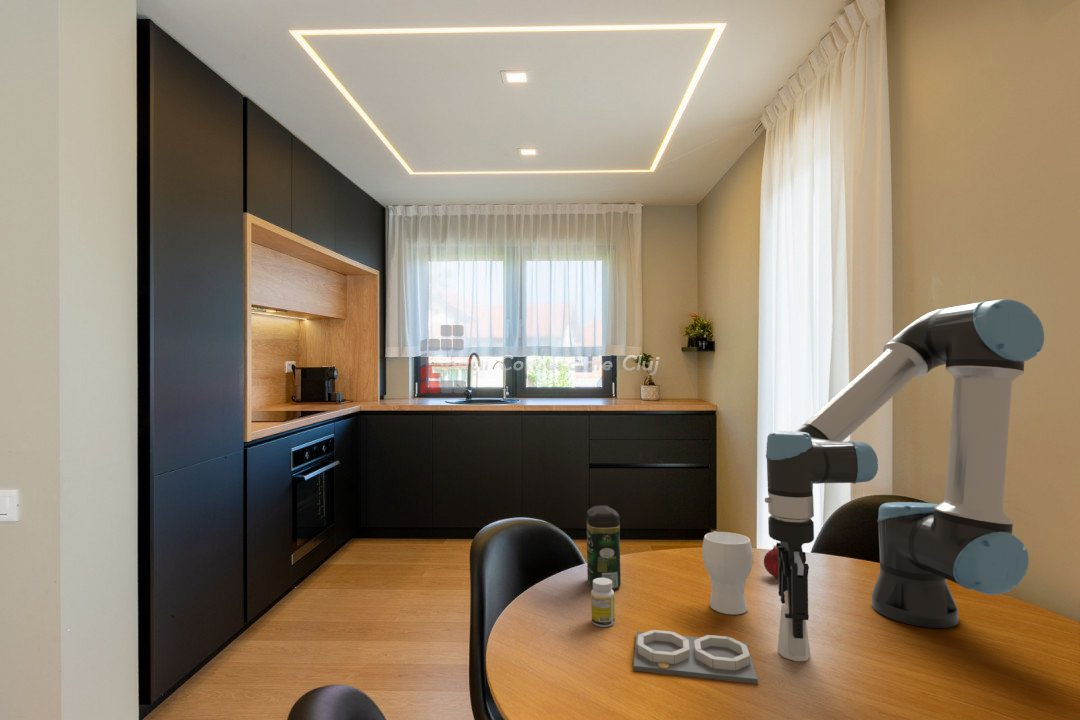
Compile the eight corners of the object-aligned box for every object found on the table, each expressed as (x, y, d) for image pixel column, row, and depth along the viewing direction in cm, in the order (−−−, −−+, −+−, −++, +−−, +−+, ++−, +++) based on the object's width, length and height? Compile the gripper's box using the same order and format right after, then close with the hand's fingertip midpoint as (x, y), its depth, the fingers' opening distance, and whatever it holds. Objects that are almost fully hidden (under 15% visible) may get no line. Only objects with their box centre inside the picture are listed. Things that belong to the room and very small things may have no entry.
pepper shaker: (778, 659, 96) (777, 595, 96) (776, 645, 101) (775, 585, 101) (812, 664, 94) (810, 599, 94) (808, 649, 99) (807, 588, 99)
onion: (793, 582, 132) (792, 549, 133) (769, 582, 132) (769, 549, 133) (783, 574, 138) (782, 542, 138) (760, 574, 138) (759, 542, 138)
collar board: (745, 646, 100) (745, 633, 100) (758, 684, 88) (757, 669, 88) (636, 635, 105) (636, 623, 105) (633, 670, 92) (633, 656, 92)
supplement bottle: (601, 615, 114) (601, 575, 114) (619, 622, 111) (618, 580, 111) (586, 622, 111) (586, 581, 111) (604, 630, 107) (604, 587, 108)
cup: (758, 619, 111) (757, 546, 112) (705, 615, 114) (704, 543, 114) (749, 599, 122) (748, 532, 122) (700, 596, 124) (699, 530, 125)
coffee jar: (585, 577, 136) (584, 503, 137) (616, 577, 136) (615, 503, 137) (590, 592, 127) (589, 512, 127) (623, 591, 127) (622, 512, 128)
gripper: (760, 505, 107) (762, 625, 106) (778, 528, 91) (781, 670, 90) (800, 507, 106) (804, 629, 105) (827, 530, 89) (831, 675, 88)
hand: (793, 647), depth 97 cm, fingers closed on pepper shaker, 4 cm apart
